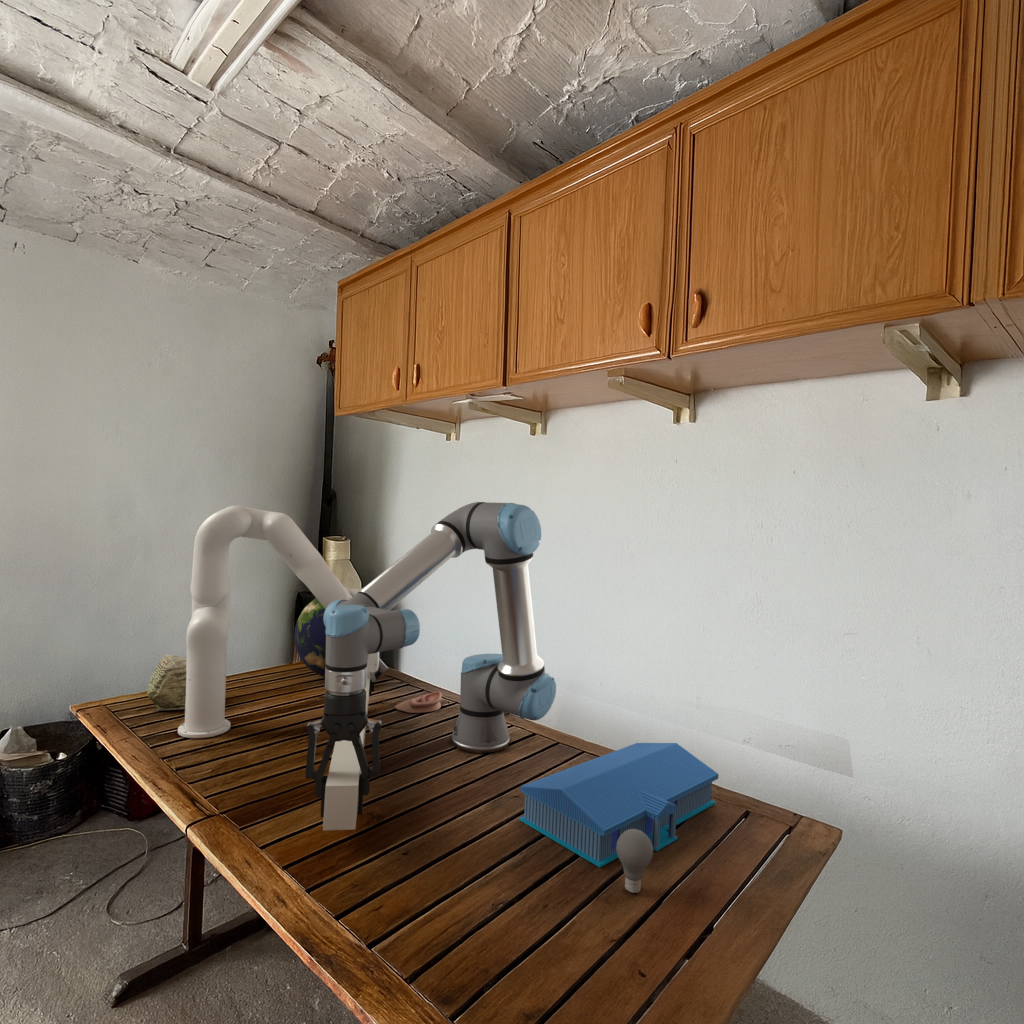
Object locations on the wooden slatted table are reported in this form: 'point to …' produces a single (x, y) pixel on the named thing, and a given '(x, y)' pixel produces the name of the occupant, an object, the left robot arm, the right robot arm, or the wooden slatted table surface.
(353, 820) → the post
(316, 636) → the globe
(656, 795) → the model building
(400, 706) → the anatomical model
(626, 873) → the light bulb
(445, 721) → the wooden slatted table surface
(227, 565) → the left robot arm
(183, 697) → the fossil
